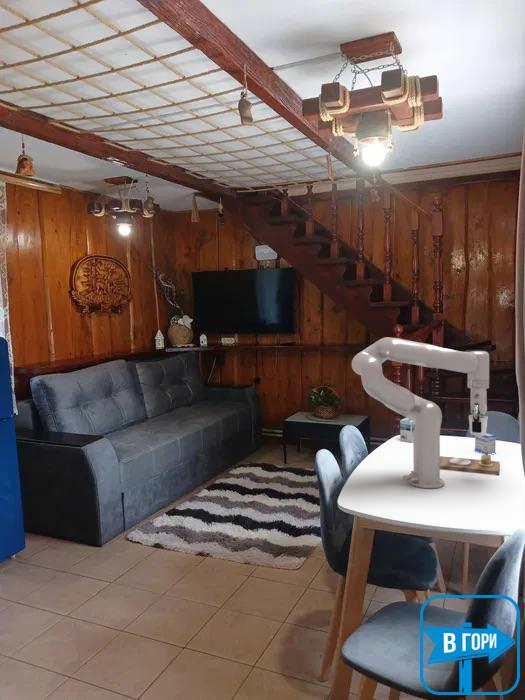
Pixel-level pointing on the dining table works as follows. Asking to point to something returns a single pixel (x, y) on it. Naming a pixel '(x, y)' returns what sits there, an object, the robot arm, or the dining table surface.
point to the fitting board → (470, 465)
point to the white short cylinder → (483, 425)
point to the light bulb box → (407, 430)
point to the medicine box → (485, 443)
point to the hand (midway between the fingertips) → (477, 429)
